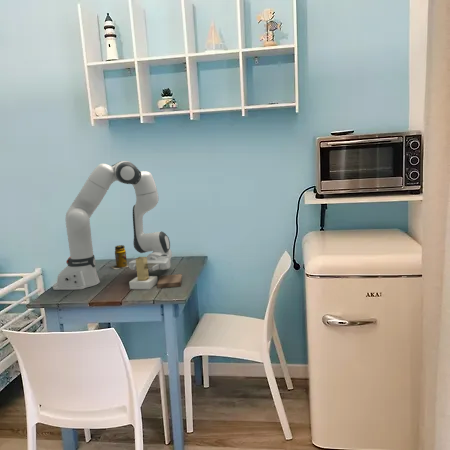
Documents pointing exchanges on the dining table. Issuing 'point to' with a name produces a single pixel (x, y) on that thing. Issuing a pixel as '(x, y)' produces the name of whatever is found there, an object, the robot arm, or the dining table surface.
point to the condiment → (120, 257)
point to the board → (169, 281)
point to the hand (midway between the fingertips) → (142, 268)
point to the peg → (142, 268)
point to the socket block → (143, 283)
